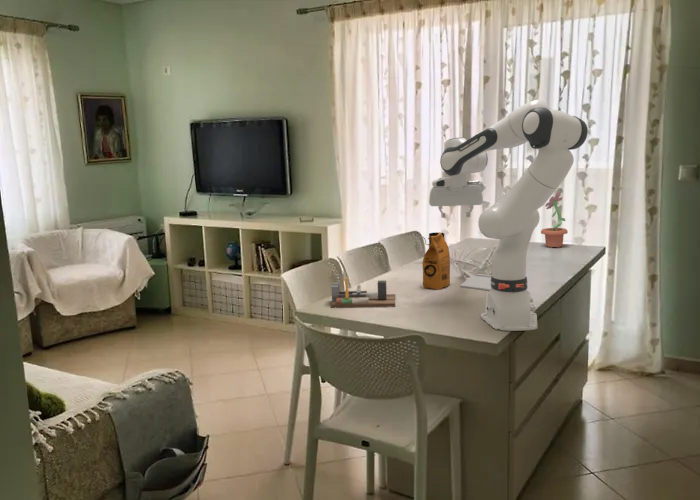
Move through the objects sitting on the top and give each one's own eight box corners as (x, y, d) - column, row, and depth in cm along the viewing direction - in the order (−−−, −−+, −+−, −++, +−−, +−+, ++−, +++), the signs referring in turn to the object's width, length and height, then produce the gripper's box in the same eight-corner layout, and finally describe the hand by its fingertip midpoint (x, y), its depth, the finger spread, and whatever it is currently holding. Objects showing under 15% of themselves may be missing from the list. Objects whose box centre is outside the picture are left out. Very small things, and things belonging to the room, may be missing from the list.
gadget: (492, 293, 243) (492, 284, 243) (459, 288, 253) (459, 280, 252) (516, 281, 260) (516, 273, 260) (485, 277, 270) (484, 269, 269)
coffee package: (418, 288, 253) (417, 236, 249) (432, 281, 263) (431, 231, 259) (440, 290, 248) (439, 237, 244) (453, 284, 258) (453, 233, 254)
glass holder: (445, 265, 295) (445, 234, 293) (416, 265, 298) (416, 235, 295) (446, 261, 304) (445, 232, 301) (417, 261, 306) (416, 232, 304)
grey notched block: (386, 301, 229) (385, 284, 228) (351, 301, 230) (350, 285, 229) (386, 297, 235) (386, 280, 234) (352, 297, 236) (352, 281, 235)
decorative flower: (550, 243, 343) (552, 190, 337) (573, 246, 332) (574, 191, 327) (535, 247, 333) (536, 192, 328) (558, 250, 323) (559, 193, 317)
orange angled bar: (348, 298, 228) (347, 278, 227) (345, 298, 228) (344, 278, 227) (348, 296, 231) (348, 276, 229) (346, 296, 231) (345, 276, 229)
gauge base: (395, 306, 227) (394, 288, 225) (331, 307, 229) (330, 289, 227) (395, 297, 240) (395, 279, 239) (335, 298, 242) (334, 280, 241)
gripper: (482, 179, 233) (482, 215, 236) (428, 181, 235) (429, 216, 238) (484, 180, 227) (484, 217, 230) (429, 182, 229) (429, 219, 231)
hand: (455, 217), depth 234 cm, fingers open, 8 cm apart
